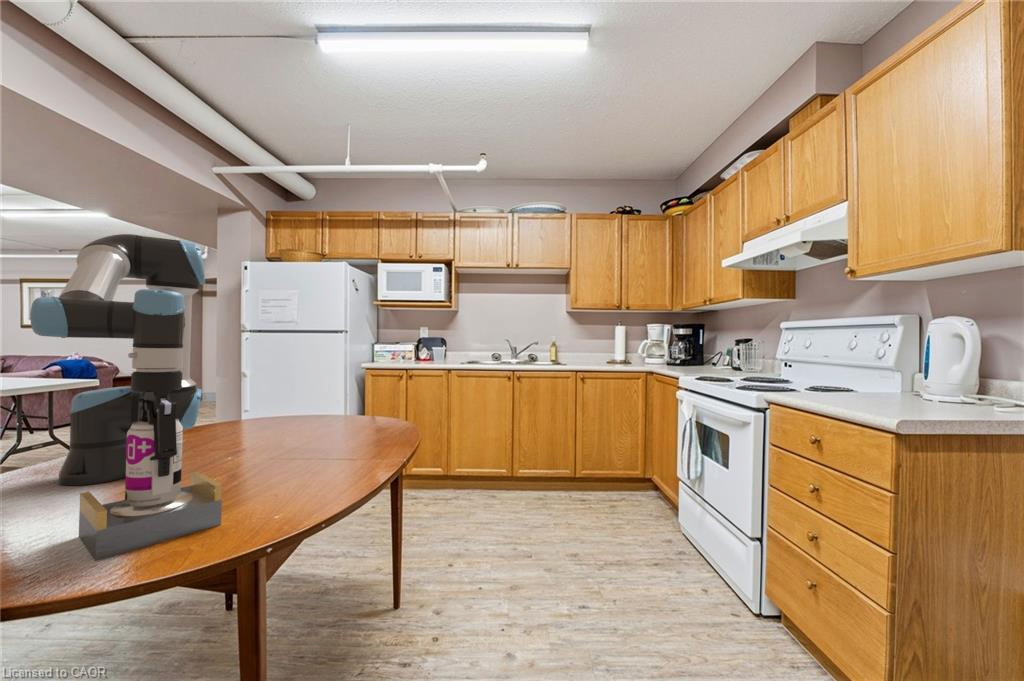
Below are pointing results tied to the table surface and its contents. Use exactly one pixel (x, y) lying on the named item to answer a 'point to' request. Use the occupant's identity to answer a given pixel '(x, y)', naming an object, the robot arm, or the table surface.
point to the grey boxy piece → (148, 518)
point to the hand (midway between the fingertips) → (154, 487)
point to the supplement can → (148, 466)
